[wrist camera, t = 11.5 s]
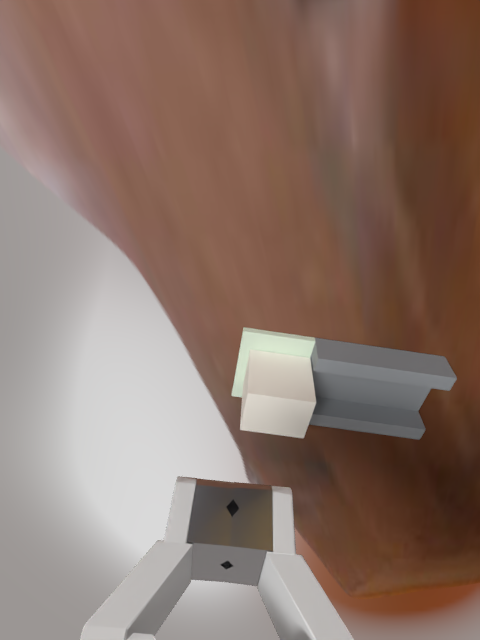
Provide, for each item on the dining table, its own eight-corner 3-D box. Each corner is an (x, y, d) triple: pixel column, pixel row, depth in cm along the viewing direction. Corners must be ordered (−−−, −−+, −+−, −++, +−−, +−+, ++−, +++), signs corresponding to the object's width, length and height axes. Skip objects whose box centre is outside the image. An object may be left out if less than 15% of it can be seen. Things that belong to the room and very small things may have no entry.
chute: (444, 356, 40) (456, 378, 37) (410, 416, 45) (419, 439, 42) (243, 327, 39) (241, 347, 37) (232, 391, 44) (229, 413, 42)
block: (310, 357, 40) (316, 402, 35) (299, 392, 43) (303, 438, 38) (249, 349, 40) (247, 393, 35) (243, 384, 42) (239, 429, 37)
